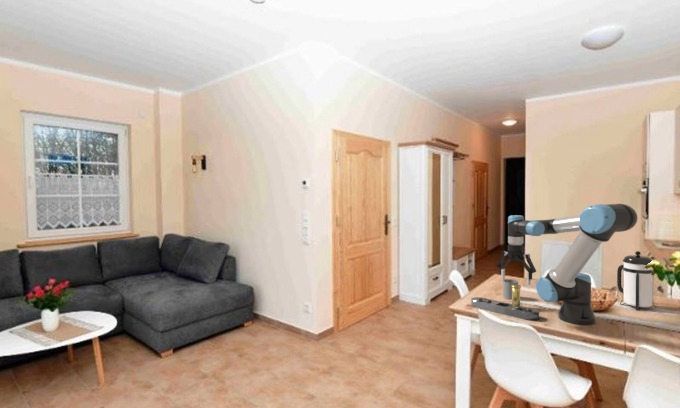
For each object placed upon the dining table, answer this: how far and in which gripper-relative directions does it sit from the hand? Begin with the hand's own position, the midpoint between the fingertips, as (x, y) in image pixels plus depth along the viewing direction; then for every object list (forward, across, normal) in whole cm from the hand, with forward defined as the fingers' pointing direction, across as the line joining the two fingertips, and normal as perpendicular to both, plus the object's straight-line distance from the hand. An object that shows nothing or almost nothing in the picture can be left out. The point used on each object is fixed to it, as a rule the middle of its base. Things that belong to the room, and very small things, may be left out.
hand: (515, 282), depth 197 cm
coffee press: (+13, -44, -46) cm, 65 cm away
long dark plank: (+13, +2, +11) cm, 18 cm away
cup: (+14, +10, -16) cm, 23 cm away
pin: (+14, 0, 0) cm, 14 cm away
